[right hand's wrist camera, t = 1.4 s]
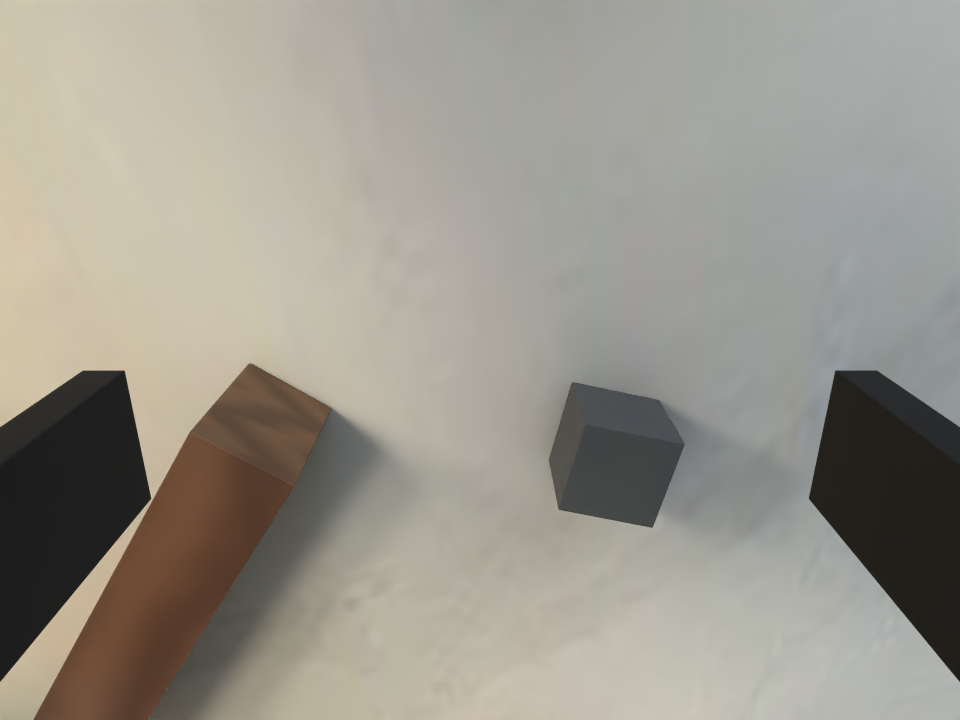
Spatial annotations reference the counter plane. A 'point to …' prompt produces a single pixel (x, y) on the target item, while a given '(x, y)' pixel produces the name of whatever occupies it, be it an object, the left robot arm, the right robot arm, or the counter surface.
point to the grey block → (613, 455)
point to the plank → (188, 549)
